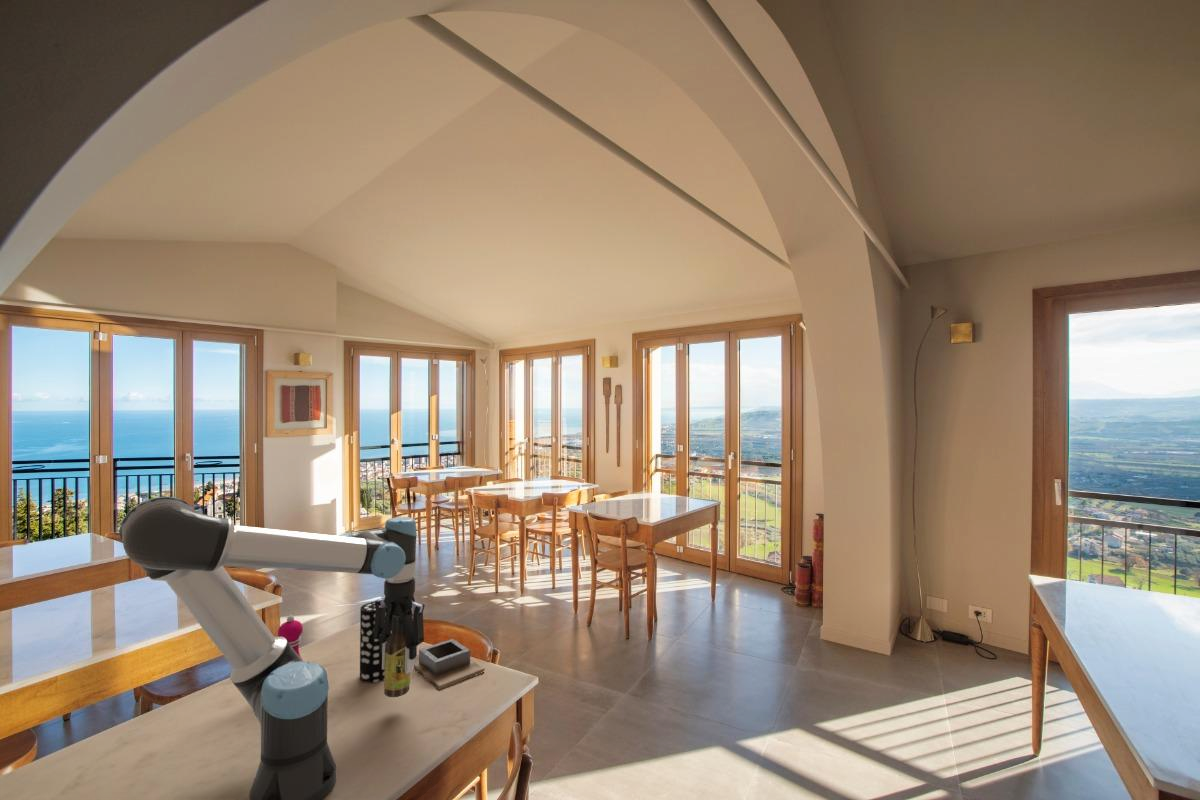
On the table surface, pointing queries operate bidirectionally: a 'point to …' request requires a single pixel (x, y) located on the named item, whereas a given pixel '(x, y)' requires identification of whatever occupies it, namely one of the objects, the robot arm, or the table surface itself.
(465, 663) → the bottle socket
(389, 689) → the sauce bottle
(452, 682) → the caddy board
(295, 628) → the pepper mill
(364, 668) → the spotted tube
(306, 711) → the robot arm
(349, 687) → the table surface
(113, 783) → the table surface
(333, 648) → the table surface
